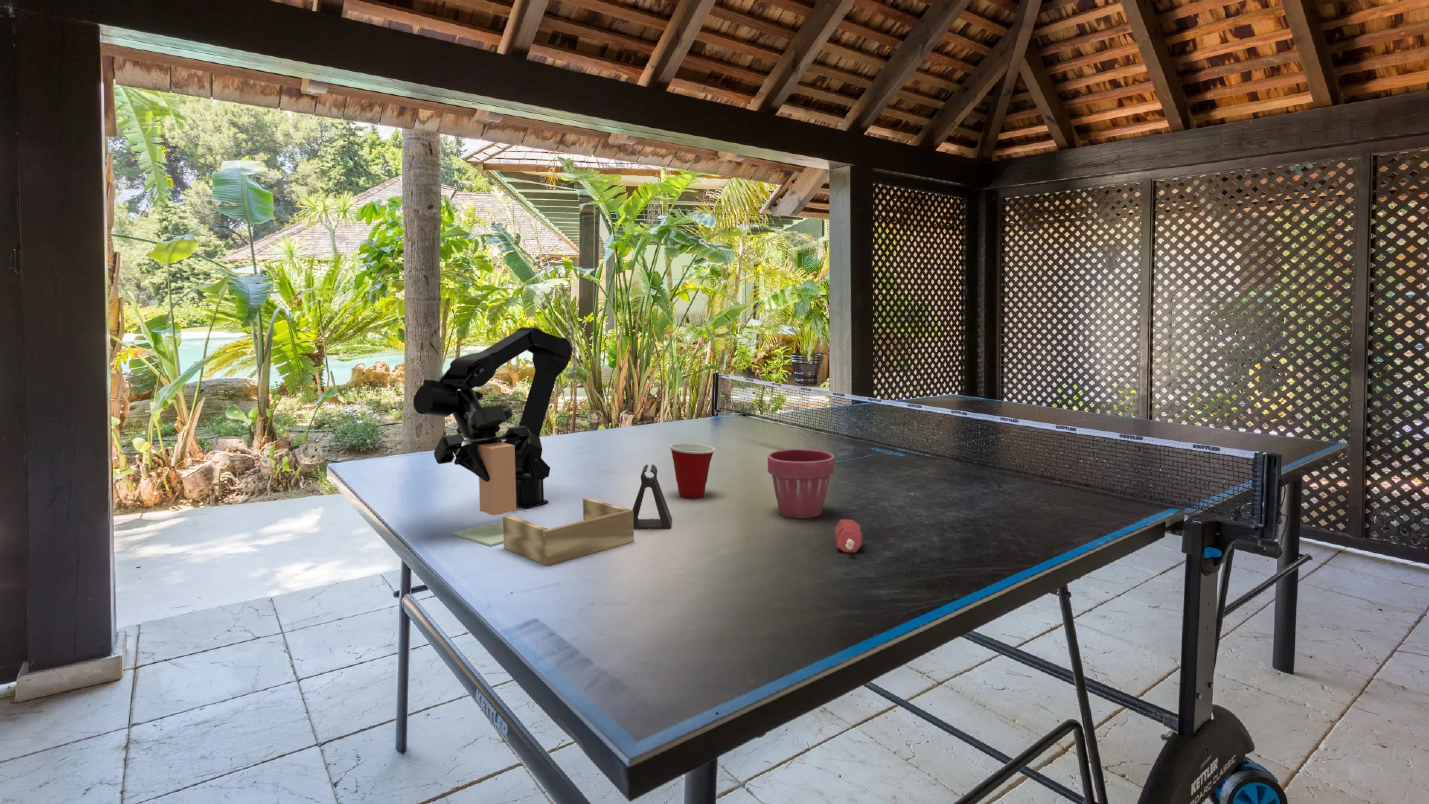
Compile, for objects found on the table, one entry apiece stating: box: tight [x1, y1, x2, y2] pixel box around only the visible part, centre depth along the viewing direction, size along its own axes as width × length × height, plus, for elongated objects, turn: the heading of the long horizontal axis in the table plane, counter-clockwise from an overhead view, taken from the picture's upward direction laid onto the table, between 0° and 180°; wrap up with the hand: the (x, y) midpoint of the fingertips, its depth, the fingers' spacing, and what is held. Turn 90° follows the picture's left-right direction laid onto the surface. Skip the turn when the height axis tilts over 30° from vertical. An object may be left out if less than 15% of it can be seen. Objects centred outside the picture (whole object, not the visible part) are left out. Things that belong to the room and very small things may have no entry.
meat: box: [834, 518, 863, 554], centre depth 141 cm, size 12×5×5 cm, turn 173°
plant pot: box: [767, 448, 835, 519], centre depth 165 cm, size 14×14×13 cm
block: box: [478, 442, 517, 516], centre depth 149 cm, size 5×5×13 cm
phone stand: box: [631, 463, 673, 530], centre depth 156 cm, size 9×6×12 cm, turn 91°
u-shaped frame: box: [502, 497, 635, 566], centre depth 143 cm, size 14×19×6 cm
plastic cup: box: [669, 442, 716, 499], centre depth 180 cm, size 11×11×12 cm
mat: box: [453, 519, 504, 547], centre depth 151 cm, size 12×12×1 cm
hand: (500, 478), depth 148 cm, fingers closed on block, 5 cm apart
